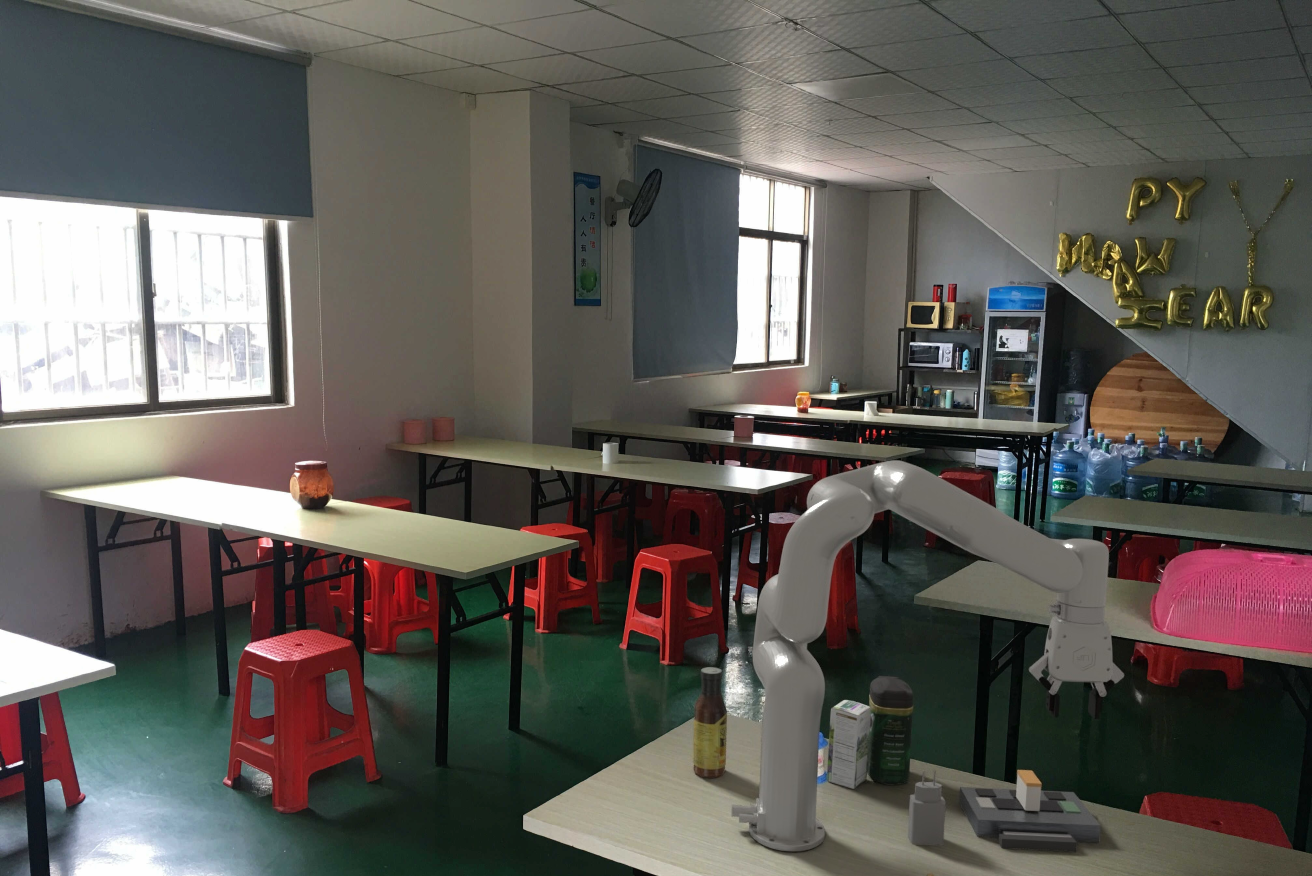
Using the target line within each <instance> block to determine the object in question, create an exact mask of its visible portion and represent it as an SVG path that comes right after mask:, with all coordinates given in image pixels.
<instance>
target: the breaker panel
mask: <svg viewBox="0 0 1312 876" xmlns="http://www.w3.org/2000/svg"><path fill="white" fill-rule="evenodd" d="M1016 790H1017V789H1016V788H1014V789H1013V788H1011V789H1009V788H994V787H993V788H991V787H990V788H989V787H972V786H971V787H968V786H964V787H963V786H960V787H959V797H958V800H959V801H958V804H959V805H960V807H961V809H962V811H963V814H964V815H965V816H966V817H965V818H967V820H968V822H969V824H970V825H971V827H972V830H973V831H974V833H975V836H976V837H978V838H980V837H981V838H994V839H995V838H997V839H999V834H1003V831H1005V832H1026V833H1046V834H1067V835H1071V837H1073V838H1074V839H1075V841H1076V842H1077V843H1079V842H1080V843H1081V842H1082V843H1100V836H1101V835H1100V834H1101V824H1100V823H1099V822H1098V820H1097V819H1096V818H1095V817H1094V815H1093V814H1091V811H1089V809H1088V808H1087V807H1086V805H1084V803H1083V802H1082V801H1081V800H1080V798H1079V796H1077V794H1076V793H1075V792H1074V791H1057V790H1056V791H1055V790H1054V791H1053V790H1041V796H1040V811H1027V810H1025V809H1024V808H1023V806H1022V805H1021V803H1020V802H1019V800H1018V799H1017V797H1016Z"/></svg>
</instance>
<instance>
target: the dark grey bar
mask: <svg viewBox="0 0 1312 876" xmlns="http://www.w3.org/2000/svg"><path fill="white" fill-rule="evenodd" d="M1077 843H1078V842H1076V841H1075V839H1074V838H1073V837H1071V835H1067V834H1046V833H1026V832H1005V831H1003V834H999V838H998V844H999V846H1000V848H1001V849H1013V850H1015V849H1016V850H1032V851H1033V850H1034V851H1049V852H1051V851H1053V852H1058V851H1059V852H1073V853H1074V852H1075V853H1076V852H1077Z"/></svg>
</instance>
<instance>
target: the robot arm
mask: <svg viewBox="0 0 1312 876" xmlns="http://www.w3.org/2000/svg"><path fill="white" fill-rule="evenodd" d="M806 508H807V509H806V511H804V513H802V514H801V516H799V517H798V518H797V520H796V521H795V522H794V523H793V524H792V526H791V528H790V529H789V531H788V532H787V534H786V537H785V539H784V542H783V546H782V547H783V548H782V552H781V557H780V565H779V569H778V574H776V575H773V576H772V577H771V578H769V579H768V580H767V582H766V583H765V584H764V585H763V588H762V589H761V592H760V594H759V598H758V602H757V603H758V604H757V609H756V617H755V618H756V620H755V626H754V627H755V628H754V634H753V635H754V637H753V645H752V665H753V668H754V671H755V673H756V675H757V677H758V679H759V681H760V682H761V684H762V686H763V688H764V693H765V695H764V706H763V712H762V716H761V717H762V719H761V727H760V730H761V732H760V765H759V768H760V769H759V792H758V793H759V796H758V797H756V799H755V803H750V804H749V805H744V804H743V805H742V804H733V803H732V804H731V809H730V810H731V814H730V815H731V817H734V818H735V817H737V818H738V822H739V823H743V824H746V823H748V832H749V835H750V836H751V838H753V840H755V841H756V842H757V843H759V844H760V845H763V846H764V847H766V848H770V849H773V850H776V851H783V852H803V851H808V850H812V849H815V848H816V847H818V846H819V845H821V844H822V843H823V842H824V840H825V837H826V836H825V835H826V833H825V832H826V829H825V826H824V825H823V823H822V822H821V821H820V820H819V819H818V818H817V799H818V798H817V797H818V796H817V795H818V794H817V793H818V778H819V777H818V775H819V774H818V772H819V750H820V728H821V727H820V726H821V718H822V717H821V716H822V710H823V706H824V705H823V704H824V699H825V693H826V682H825V677H824V673H823V671H822V669H821V668H822V667H820V665H819V663H818V662H817V660H816V658H814V656H813V655H812V653H811V652H810V651H809V650H808V644H809V643H812V642H813V641H815V640H817V639H818V638H819V637H820V636H821V634H823V632H824V629H825V626H826V623H827V620H828V610H829V609H828V608H829V600H830V599H829V598H830V591H831V583H832V574H833V569H834V564H835V560H836V557H837V556H838V554H839V553H840V551H841V549H842V548H843V547H844V546H845V545H846V544H847V543H849V542H850V541H852V540H853V539H856V538H857V537H859V536H861V535H862V534H864V533H865V532H866V531H867V530H868V529H869V527H870V526H871V524H872V522H873V521H874V518H875V517H874V516H875V514H878V513H881V512H884V511H887V510H890V511H892V512H894V513H895V514H897V515H899V516H901V517H902V518H904V519H907V520H908V521H910V522H912V523H915V524H916V525H917V526H919V527H921V528H924V529H925V530H927V531H929V532H930V533H933V534H934V535H937V536H938V537H940V538H942V539H944V540H946V541H948V542H950V543H951V544H953V545H955V546H957V547H959V548H961V549H963V550H964V551H967V552H969V553H971V554H972V555H974V556H975V555H976V556H978V557H981V558H983V559H986V560H989V561H991V562H993V563H995V564H997V565H999V566H1002V567H1003V568H1005V569H1008V570H1009V571H1011V572H1014V573H1015V574H1016V575H1017V576H1019V577H1021V578H1023V580H1027V581H1028V582H1030V583H1032V584H1035V585H1036V586H1039V587H1040V588H1041V589H1042V588H1043V589H1044V590H1046V591H1047V592H1048V591H1049V592H1051V593H1055V594H1057V597H1056V599H1055V602H1054V603H1053V604H1048V606H1047V610H1048V611H1047V612H1048V613H1050V614H1054V615H1055V616H1052V618H1051V620H1050V623H1049V626H1048V627H1049V628H1048V631H1047V635H1046V639H1045V646H1044V653H1043V654H1044V655H1042V656H1041V657H1040V658H1039V659H1038V660H1036V661H1035V662H1034V663H1033V664H1032V665H1031V666H1029V668H1028V671H1029V673H1030V674H1031V675H1032V676H1033V677H1034V678H1035V679H1036V680H1037V681H1038V682H1039V683H1040V684H1041V685H1042V687H1044V688H1045V689H1046V697H1045V709H1046V710H1047V711H1048V713H1049V714H1050V715H1051V716H1052V717H1053V718H1058V717H1059V714H1060V713H1059V712H1060V698H1061V696H1060V694H1059V693H1058V691H1059V689H1060V687H1061V685H1062V683H1063V682H1070V683H1072V682H1074V683H1090V685H1091V687H1092V689H1090V691H1089V694H1088V695H1089V696H1088V708H1087V712H1088V714H1089V715H1090V716H1091V717H1092V718H1093V719H1095V720H1100V714H1101V713H1102V712H1103V702H1104V700H1103V699H1104V697H1106V696H1107V693H1108V692H1109V691H1110V690H1111V689H1112V688H1114V687H1115V685H1116V684H1118V683H1119V682H1120V681H1121V680H1122V679H1124V677H1125V673H1124V672H1123V671H1122V670H1121V669H1120V668H1119V666H1117V665H1116V664H1115V662H1113V644H1112V643H1113V642H1112V634H1111V633H1112V632H1111V625H1110V623H1109V622H1107V621H1106V620H1105V619H1106V618H1105V615H1106V602H1107V586H1108V576H1109V575H1108V574H1109V560H1110V559H1109V558H1110V554H1109V553H1110V552H1109V548H1108V546H1107V545H1106V544H1105V543H1104V542H1101V541H1099V540H1094V539H1089V538H1069V539H1058V538H1057V539H1056V538H1050V537H1048V536H1046V535H1045V534H1042V533H1040V532H1038V531H1036V530H1034V529H1033V528H1031V527H1029V526H1027V525H1025V524H1023V523H1022V522H1020V521H1018V520H1016V519H1014V518H1013V517H1011V516H1009V515H1007V513H1004V512H1003V511H1001V510H999V509H998V508H996V507H994V506H993V505H991V504H989V503H987V502H986V501H984V500H982V499H980V498H978V497H976V496H974V495H973V494H970V493H968V492H967V491H965V490H963V489H961V488H959V487H958V486H956V485H954V484H952V483H950V482H949V481H947V480H945V479H944V478H941V477H939V476H937V475H935V474H934V473H932V472H930V471H928V470H926V469H924V468H923V467H919V466H917V465H914V464H912V463H909V462H906V461H902V460H899V459H898V460H887V461H882V462H878V463H874V464H871V465H867V466H863V467H860V468H856V469H853V470H849V471H844V472H841V473H838V474H833V475H829V476H827V477H823V478H822V479H820V480H819V481H817V482H816V483H815V484H813V486H812V487H811V488H810V489H809V492H808V494H807V497H806ZM1043 670H1045V671H1046V672H1047V673H1049V675H1048V677H1047V678H1046V677H1045V676H1044V675H1043V674H1042V672H1043Z"/></svg>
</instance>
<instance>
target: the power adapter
mask: <svg viewBox="0 0 1312 876" xmlns="http://www.w3.org/2000/svg"><path fill="white" fill-rule="evenodd" d="M936 774H937V773H936V770H934V771H933V777H932V778H933V779H932V781H928V782H927V781H925V770H922V779H921V780H922V781H918V782H916V783H915V784H914V794H910V795H909V809H908V828H907V839H908V840H909V842H910V844H912V845H915V846H943V845H944V840H945V839H944V837H945V825H946V823H945V820H946V804H947V803H946V802H947V801H946V800H945V798H944V797H943V796H942V787H943V785H942V784H940V783H938V782H936Z"/></svg>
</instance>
